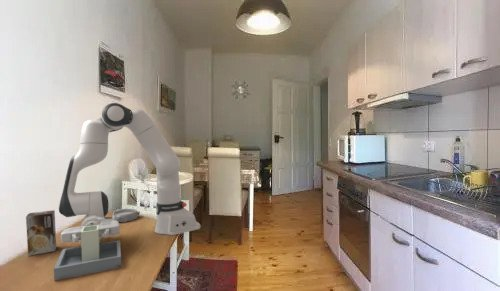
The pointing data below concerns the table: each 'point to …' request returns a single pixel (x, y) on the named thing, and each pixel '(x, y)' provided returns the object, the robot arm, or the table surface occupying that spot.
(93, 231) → the small tall open container
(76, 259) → the grey tray
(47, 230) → the coffee box
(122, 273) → the table surface
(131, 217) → the dish
